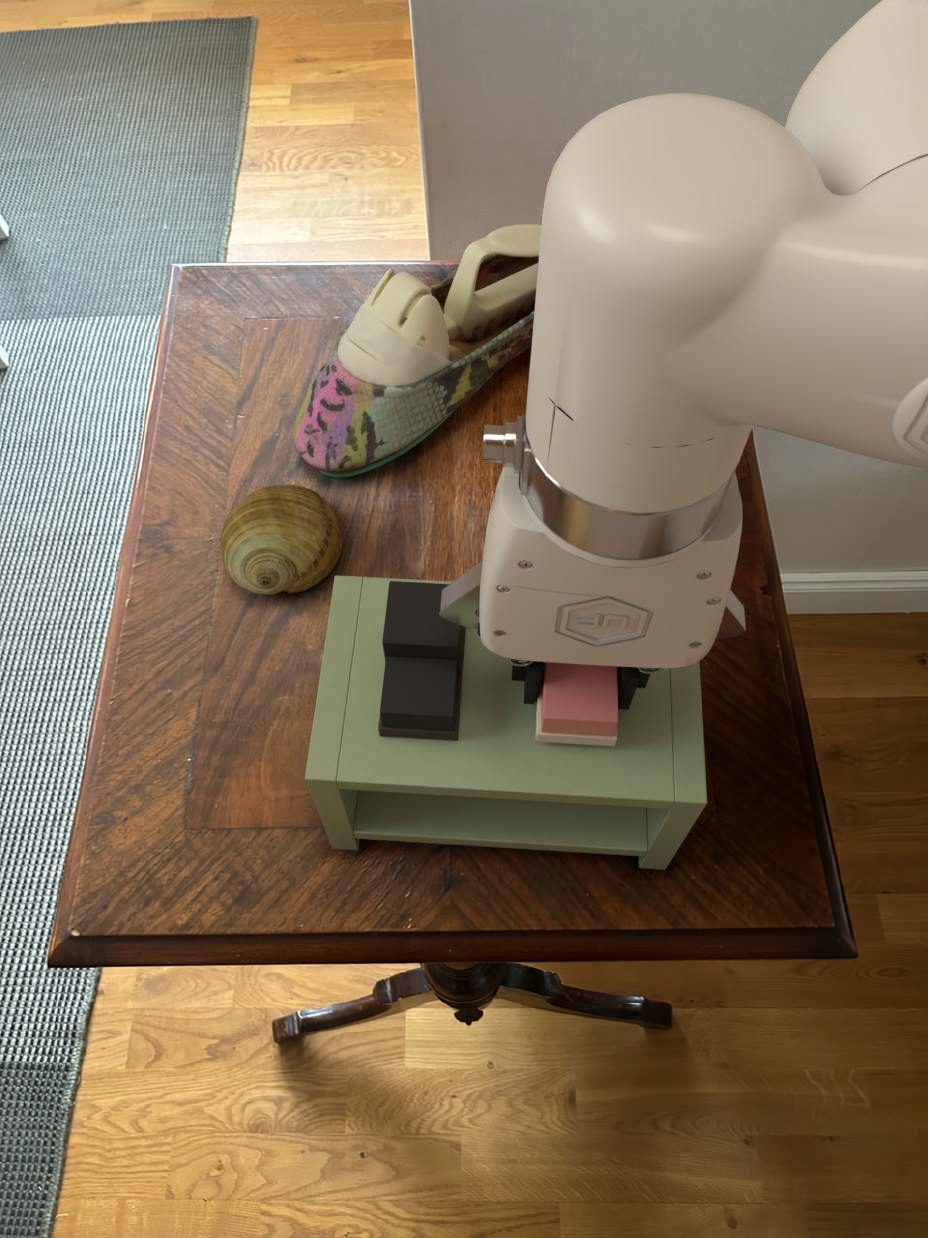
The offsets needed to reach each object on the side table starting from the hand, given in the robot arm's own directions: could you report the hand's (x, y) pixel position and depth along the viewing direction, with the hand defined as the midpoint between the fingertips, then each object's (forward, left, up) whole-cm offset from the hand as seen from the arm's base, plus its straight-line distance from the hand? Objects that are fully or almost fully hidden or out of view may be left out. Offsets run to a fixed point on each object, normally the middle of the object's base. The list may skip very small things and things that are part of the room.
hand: (576, 679), depth 52 cm
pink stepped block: (0, 0, 0) cm, 0 cm away
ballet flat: (+8, -33, -13) cm, 36 cm away
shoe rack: (+3, 0, -13) cm, 13 cm away
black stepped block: (+8, 0, -1) cm, 8 cm away
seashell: (+19, -15, -13) cm, 28 cm away
